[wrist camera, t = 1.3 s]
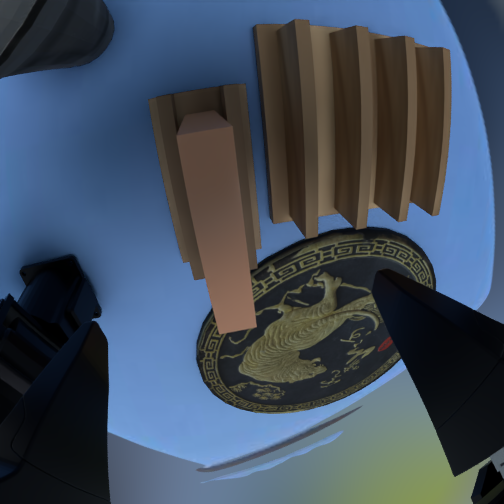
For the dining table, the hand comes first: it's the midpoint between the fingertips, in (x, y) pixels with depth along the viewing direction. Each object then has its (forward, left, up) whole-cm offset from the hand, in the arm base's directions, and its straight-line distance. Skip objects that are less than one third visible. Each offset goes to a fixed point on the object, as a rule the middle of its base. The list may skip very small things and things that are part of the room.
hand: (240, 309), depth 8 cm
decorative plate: (+10, -21, -14) cm, 27 cm away
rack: (+11, +3, -13) cm, 17 cm away
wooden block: (0, 0, -12) cm, 12 cm away
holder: (0, 0, -13) cm, 13 cm away
